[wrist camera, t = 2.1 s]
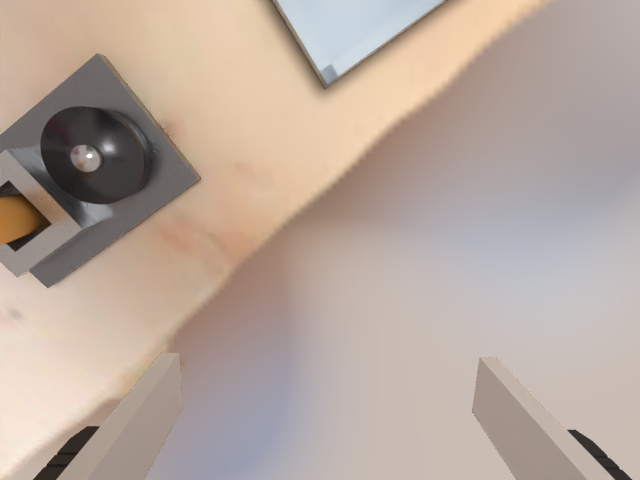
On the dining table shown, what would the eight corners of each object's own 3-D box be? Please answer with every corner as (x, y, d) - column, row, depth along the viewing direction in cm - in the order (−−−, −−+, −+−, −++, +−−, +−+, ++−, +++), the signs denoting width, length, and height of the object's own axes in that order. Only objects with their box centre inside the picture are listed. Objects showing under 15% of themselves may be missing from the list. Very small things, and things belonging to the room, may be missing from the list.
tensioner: (-50, 184, 35) (-99, 193, 31) (104, 55, 32) (72, 44, 28) (55, 283, 39) (24, 303, 35) (201, 178, 36) (186, 185, 32)
